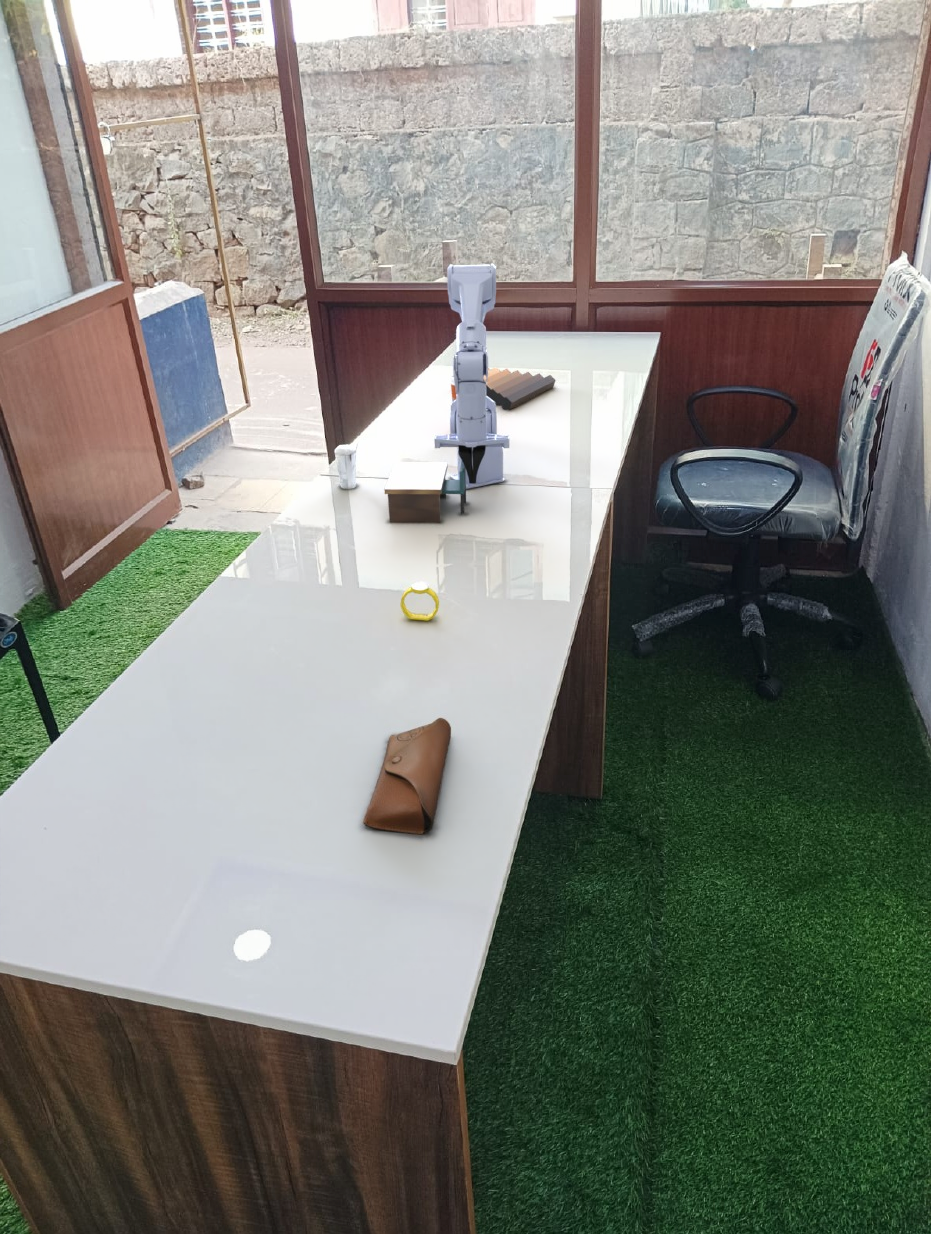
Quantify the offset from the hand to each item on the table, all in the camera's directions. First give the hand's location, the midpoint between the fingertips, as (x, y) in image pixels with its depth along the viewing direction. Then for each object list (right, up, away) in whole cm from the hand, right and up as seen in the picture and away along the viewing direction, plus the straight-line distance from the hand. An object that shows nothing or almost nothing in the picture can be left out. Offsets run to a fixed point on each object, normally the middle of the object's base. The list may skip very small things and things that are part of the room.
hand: (472, 481), depth 182 cm
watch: (-9, -27, -36) cm, 46 cm away
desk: (-11, -5, +4) cm, 13 cm away
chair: (-5, -5, +3) cm, 8 cm away
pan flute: (+7, +36, +76) cm, 84 cm away
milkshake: (-26, +1, +15) cm, 30 cm away
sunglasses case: (-8, -47, -71) cm, 85 cm away
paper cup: (-1, +19, +45) cm, 49 cm away
